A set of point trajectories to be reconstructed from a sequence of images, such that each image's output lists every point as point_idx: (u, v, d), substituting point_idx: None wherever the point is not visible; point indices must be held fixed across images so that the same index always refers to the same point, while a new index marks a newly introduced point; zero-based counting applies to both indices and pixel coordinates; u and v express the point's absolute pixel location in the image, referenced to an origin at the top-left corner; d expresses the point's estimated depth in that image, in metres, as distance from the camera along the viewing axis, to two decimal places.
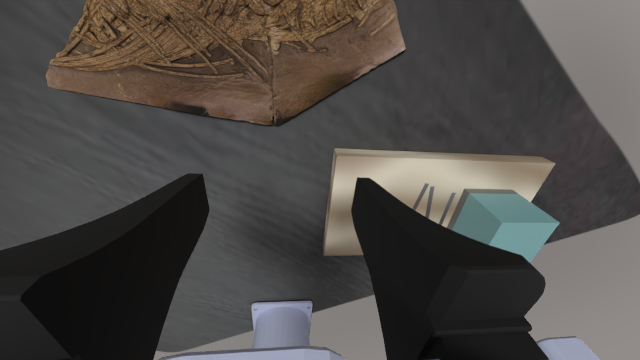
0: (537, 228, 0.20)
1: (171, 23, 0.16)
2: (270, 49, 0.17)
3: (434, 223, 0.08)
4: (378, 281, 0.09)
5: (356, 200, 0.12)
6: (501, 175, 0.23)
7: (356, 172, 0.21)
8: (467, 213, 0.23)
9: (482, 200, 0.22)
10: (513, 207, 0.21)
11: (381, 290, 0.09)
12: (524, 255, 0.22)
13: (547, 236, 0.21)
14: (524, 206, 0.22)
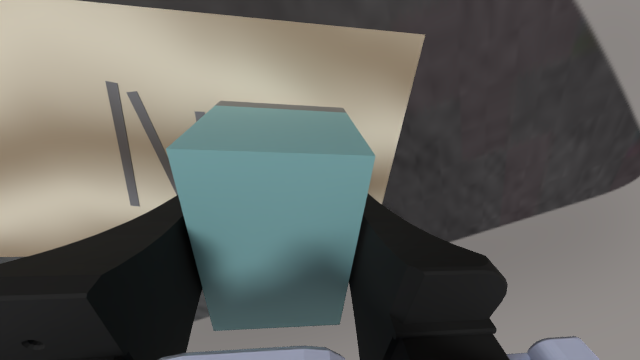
0: (311, 173, 0.07)
1: None
2: None
3: (406, 223, 0.08)
4: (354, 282, 0.09)
5: None
6: (298, 65, 0.10)
7: None
8: None
9: (220, 114, 0.08)
10: (285, 126, 0.08)
11: (356, 291, 0.09)
12: (323, 256, 0.08)
13: (359, 201, 0.07)
14: (321, 126, 0.08)
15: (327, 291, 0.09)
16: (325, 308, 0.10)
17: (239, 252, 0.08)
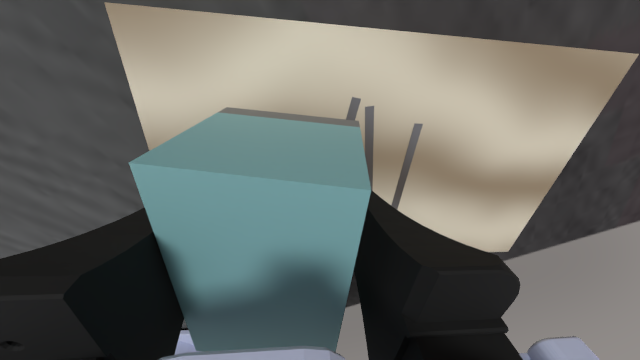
0: (291, 203, 0.05)
1: None
2: None
3: (415, 223, 0.08)
4: (362, 281, 0.09)
5: None
6: (520, 82, 0.11)
7: (176, 61, 0.09)
8: None
9: (215, 123, 0.08)
10: (279, 141, 0.07)
11: (364, 291, 0.09)
12: (309, 296, 0.07)
13: (351, 242, 0.06)
14: (321, 144, 0.07)
15: (316, 334, 0.08)
16: None
17: (215, 278, 0.07)
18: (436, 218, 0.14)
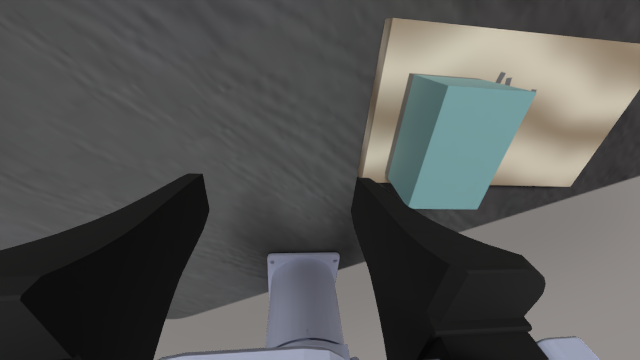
0: (504, 101, 0.13)
1: None
2: None
3: (434, 223, 0.08)
4: (378, 281, 0.09)
5: (356, 200, 0.12)
6: (598, 63, 0.18)
7: (414, 49, 0.16)
8: (412, 104, 0.16)
9: (429, 77, 0.15)
10: (472, 82, 0.15)
11: (381, 290, 0.09)
12: (489, 154, 0.15)
13: (520, 119, 0.14)
14: (488, 83, 0.15)
15: (480, 181, 0.16)
16: (474, 194, 0.17)
17: (449, 149, 0.15)
18: (529, 157, 0.21)
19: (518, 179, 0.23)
